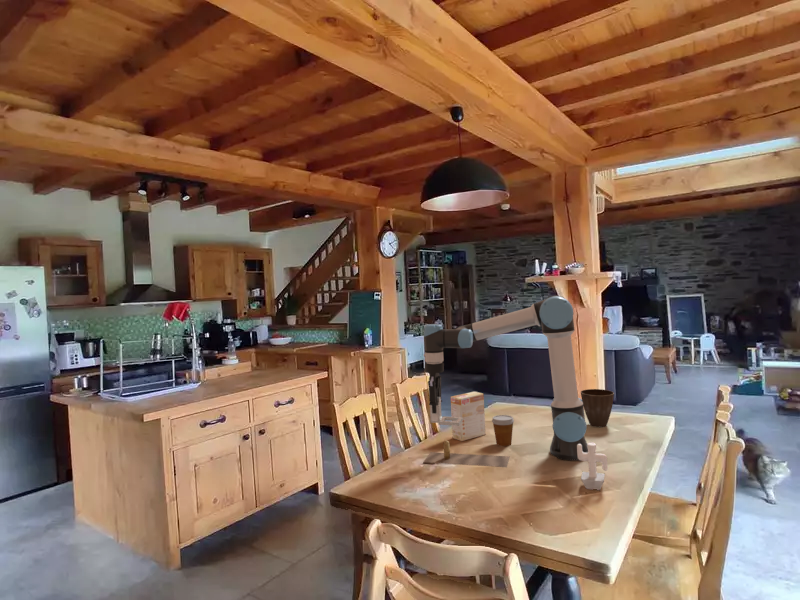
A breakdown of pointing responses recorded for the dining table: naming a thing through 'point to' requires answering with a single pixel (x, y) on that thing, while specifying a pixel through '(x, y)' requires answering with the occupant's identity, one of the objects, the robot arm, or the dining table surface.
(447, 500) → the dining table surface
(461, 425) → the coffeecake box
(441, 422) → the tie down link
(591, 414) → the plant pot
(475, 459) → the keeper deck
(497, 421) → the disposable coffee cup
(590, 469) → the figurine
